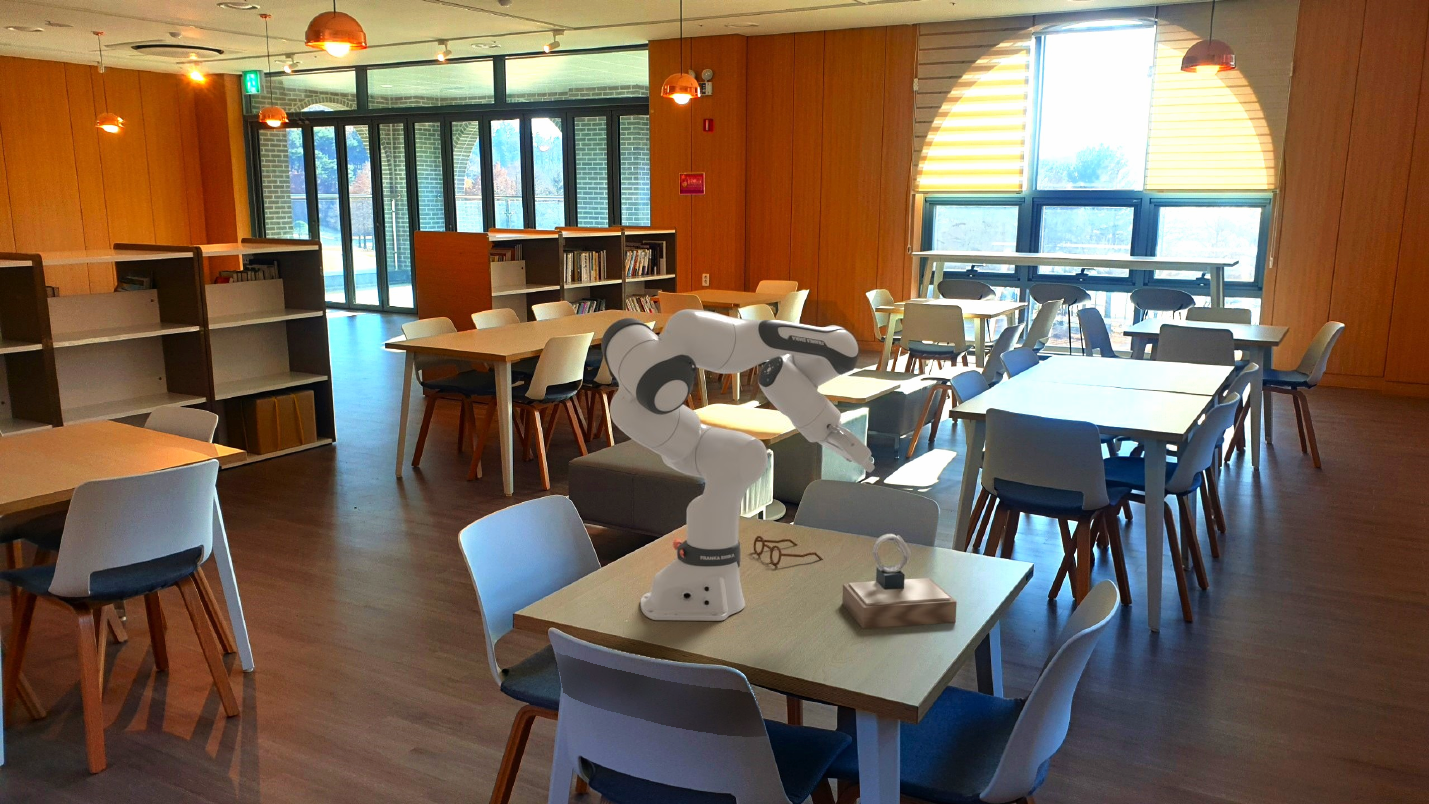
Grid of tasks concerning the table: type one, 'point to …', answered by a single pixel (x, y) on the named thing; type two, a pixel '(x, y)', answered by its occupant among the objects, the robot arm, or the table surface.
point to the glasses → (778, 549)
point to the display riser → (899, 604)
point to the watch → (891, 574)
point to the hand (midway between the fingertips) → (861, 464)
